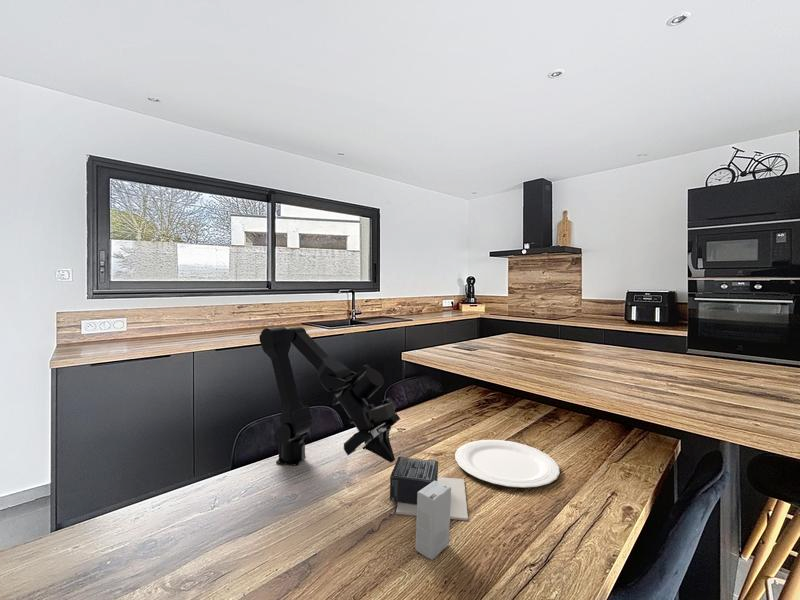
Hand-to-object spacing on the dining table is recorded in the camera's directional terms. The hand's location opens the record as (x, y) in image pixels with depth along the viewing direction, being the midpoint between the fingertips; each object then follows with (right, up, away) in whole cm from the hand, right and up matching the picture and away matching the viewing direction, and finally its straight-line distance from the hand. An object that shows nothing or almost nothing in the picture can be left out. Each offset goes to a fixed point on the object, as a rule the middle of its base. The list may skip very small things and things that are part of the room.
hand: (393, 461), depth 93 cm
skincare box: (+8, -9, -19) cm, 22 cm away
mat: (+10, -8, 0) cm, 13 cm away
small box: (0, -5, +1) cm, 5 cm away
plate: (+32, -9, +17) cm, 37 cm away
